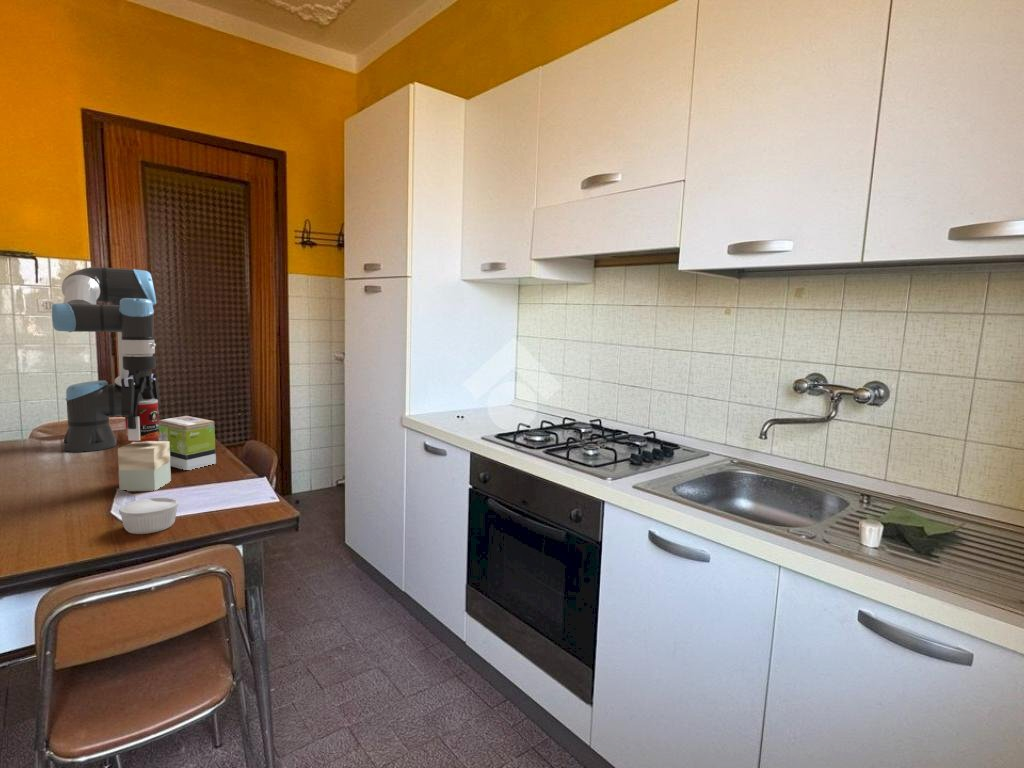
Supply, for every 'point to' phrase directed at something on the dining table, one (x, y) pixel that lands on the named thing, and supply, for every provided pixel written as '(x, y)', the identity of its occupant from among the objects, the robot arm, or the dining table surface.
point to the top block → (144, 455)
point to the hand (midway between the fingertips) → (143, 436)
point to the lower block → (144, 479)
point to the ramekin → (149, 515)
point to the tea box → (189, 441)
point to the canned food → (147, 420)
